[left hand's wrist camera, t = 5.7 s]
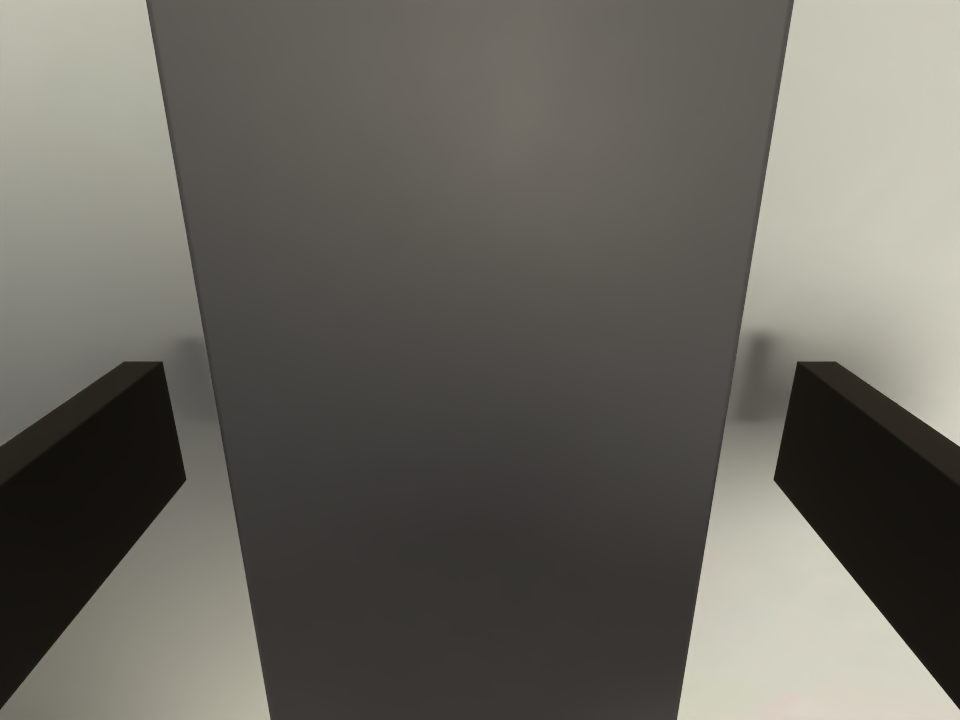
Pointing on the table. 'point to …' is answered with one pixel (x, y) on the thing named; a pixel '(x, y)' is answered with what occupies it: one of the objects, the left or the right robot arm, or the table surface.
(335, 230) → the bar
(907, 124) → the table surface
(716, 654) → the table surface
